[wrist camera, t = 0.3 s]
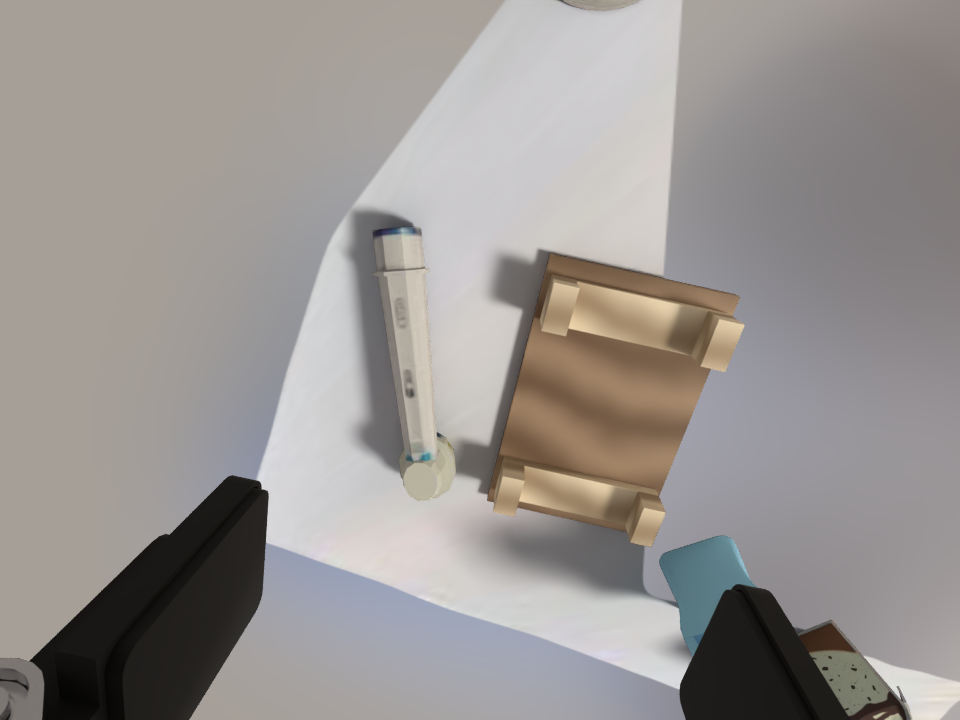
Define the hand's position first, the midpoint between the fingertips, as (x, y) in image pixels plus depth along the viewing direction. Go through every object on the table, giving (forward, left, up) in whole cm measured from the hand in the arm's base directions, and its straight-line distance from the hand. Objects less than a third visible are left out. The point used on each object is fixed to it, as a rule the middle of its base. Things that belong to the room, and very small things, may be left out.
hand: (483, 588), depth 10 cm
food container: (+34, +41, -35) cm, 64 cm away
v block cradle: (+10, +11, -35) cm, 38 cm away
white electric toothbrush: (+10, -6, -36) cm, 38 cm away
